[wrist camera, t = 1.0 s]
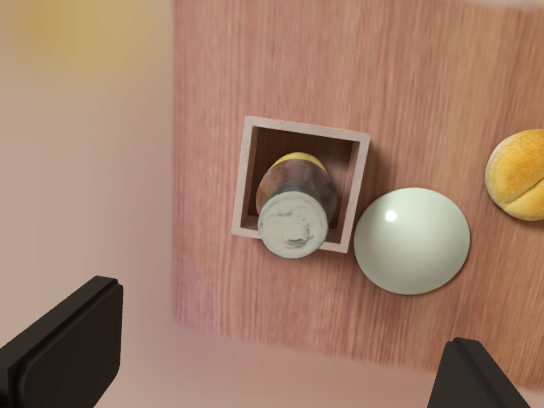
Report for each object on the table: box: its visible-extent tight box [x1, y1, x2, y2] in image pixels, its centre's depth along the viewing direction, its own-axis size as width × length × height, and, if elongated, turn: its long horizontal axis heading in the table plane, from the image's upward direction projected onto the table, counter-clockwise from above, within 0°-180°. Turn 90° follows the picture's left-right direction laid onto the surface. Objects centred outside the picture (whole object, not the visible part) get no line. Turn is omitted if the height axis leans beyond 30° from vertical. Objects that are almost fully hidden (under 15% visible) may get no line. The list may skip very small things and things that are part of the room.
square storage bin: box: [231, 116, 371, 253], centre depth 37 cm, size 12×12×5 cm
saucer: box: [354, 187, 470, 295], centre depth 40 cm, size 12×12×1 cm
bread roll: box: [485, 129, 544, 221], centre depth 36 cm, size 8×9×4 cm
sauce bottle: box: [256, 152, 337, 259], centre depth 30 cm, size 6×6×20 cm
